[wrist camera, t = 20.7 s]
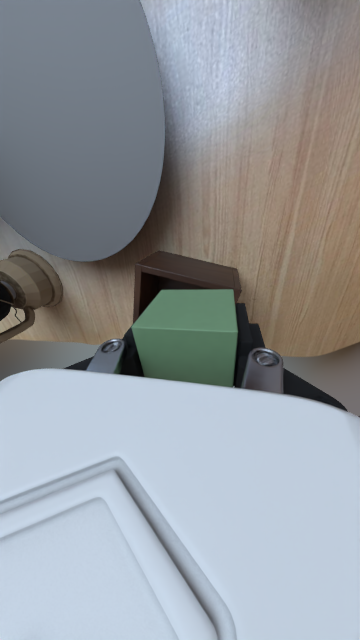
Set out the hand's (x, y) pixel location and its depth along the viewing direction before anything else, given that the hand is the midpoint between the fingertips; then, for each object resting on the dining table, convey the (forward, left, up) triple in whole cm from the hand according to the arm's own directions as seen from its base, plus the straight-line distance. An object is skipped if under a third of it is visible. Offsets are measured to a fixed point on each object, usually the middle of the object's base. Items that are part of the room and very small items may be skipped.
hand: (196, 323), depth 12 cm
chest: (-3, +7, -18) cm, 20 cm away
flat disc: (+23, +8, -19) cm, 30 cm away
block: (0, 0, 0) cm, 0 cm away
